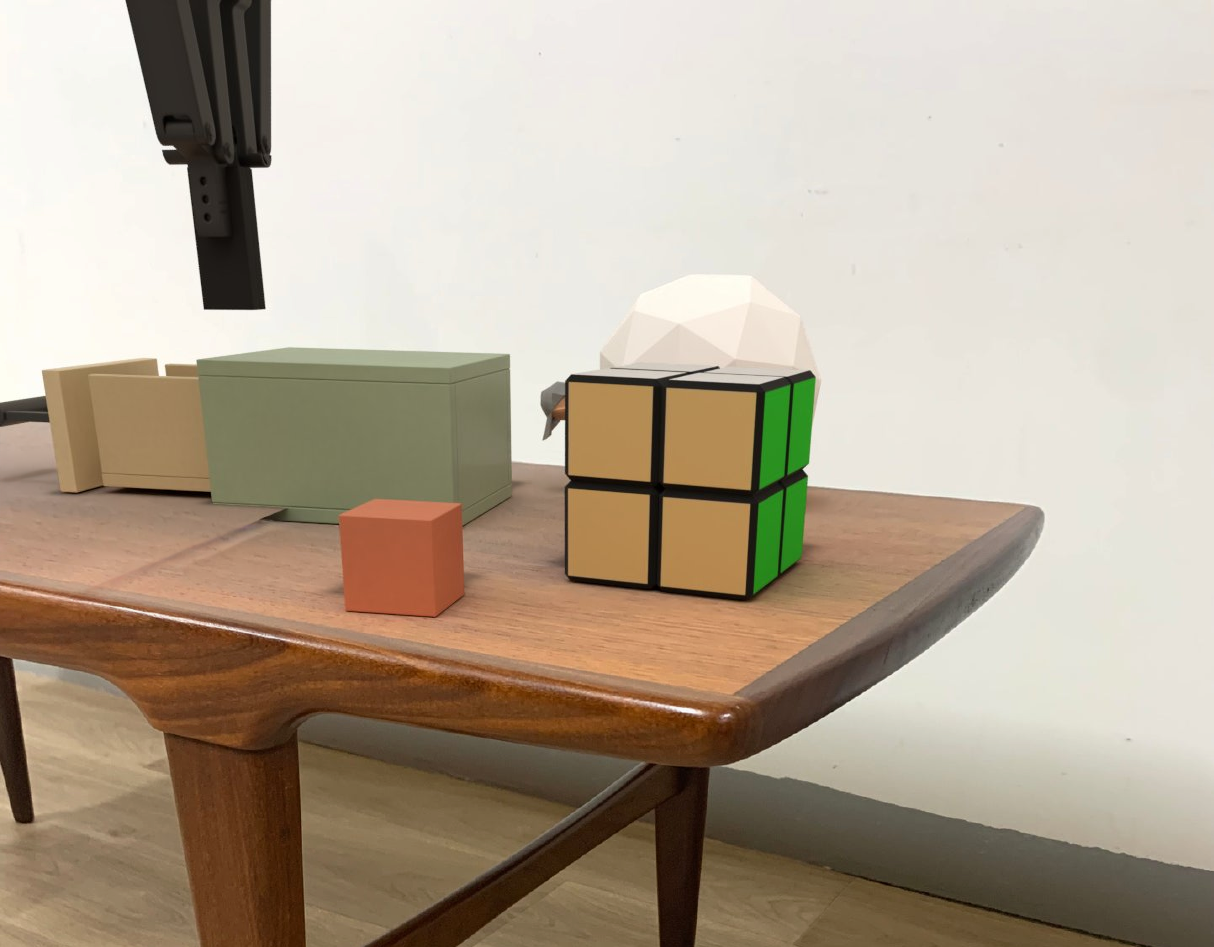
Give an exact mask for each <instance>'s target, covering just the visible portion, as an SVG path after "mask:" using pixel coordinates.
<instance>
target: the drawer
mask: <svg viewBox="0 0 1214 947" xmlns="http://www.w3.org/2000/svg"><path fill="white" fill-rule="evenodd" d="M164 370H165V375H160V372H159V366H158V359H157V358H153V357H137V358H130V359H122V360H114V361H105V362H98V363H97V362H96V363H89V364H80V365H72V366H64V367H55V368H47V369H42V370H41V374H42V375H41V376H42V382H43V389H44V394H45V395H40V396H35V397H28V398H20V399H14V400H7V401H2V402H0V428H2V427H3V428H4V427H9V426H15V425H20V424H25V423H49V426H50V433H51V440H52V444H53V446H52V447H53V452H54V458H55V464H56V468H57V469H56V470H57V471H56V472H57V476H58V477H57V478H58V482H59V483H58V484H59V489H60V490H59V491H60V492H62V493H77V494H78V493H80V492H84V491H88V490H91V489H95V488H98V487H102V486H103V487H110V488H111V487H113V488H130V489H131V488H133V489H147V490H148V489H151V490H166V491H167V490H170V491H171V490H172V491H189V492H208V493H211V487H210V478H209V469H208V460H207V451H206V442H205V433H204V424H203V415H202V406H201V396H200V387H199V378H198V376H199V375H198V371H197V363H196V364H194V363H165V364H164Z"/></svg>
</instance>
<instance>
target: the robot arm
mask: <svg viewBox="0 0 1214 947" xmlns="http://www.w3.org/2000/svg"><path fill="white" fill-rule="evenodd" d="M125 5H126V9H127V14H128V19H129V22H130V26H131V31H132V36H133V40H134V45H135V49H136V53H137V57H138V62H139V65H140V70H141V73H142V74H141V75H142V78H143V83H144V88H145V92H146V97H147V101H148V104H149V105H148V106H149V109H150V114H151V118H152V122H153V126H154V131H155V134H156V138H157V141H158V142H159V144H160V145H161V146H163V147H172V148H174V149H161V152H162V156H163V159H164V161H165V162H166V164H168V165H169V166H174V165H175V166H176V165H177V166H179V165H180V166H182V165H184V166H185V165H187V166H186V170H187V172H186V173H187V178H188V179H187V180H188V188H189V197H190V204H191V212H192V221H193V230H194V238H195V245H196V255H197V265H198V272H199V281H200V282H199V283H200V289H201V300H202V307H203V310H204V311H206V310H208V311H260V310H261V311H262V310H266V308H267V307H266V297H265V289H264V288H265V287H264V279H263V278H264V276H263V268H262V260H261V259H262V258H261V249H260V248H261V247H260V239H259V227H258V218H257V209H256V198H255V187H254V177H253V169H268V168H270V167H271V165H272V159H273V158H272V155H271V153H272V0H125Z"/></svg>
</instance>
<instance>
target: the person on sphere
mask: <svg viewBox="0 0 1214 947" xmlns="http://www.w3.org/2000/svg"><path fill="white" fill-rule="evenodd" d="M642 362H643V363H664V364H685V365H707V366H719V367H720V368H725V367H729V366H733V367H754V368H775V369H796V370H811V372H812V373H813V374H814V375H815V377H816V381H815V394H814V407H813V420H812V425H813V424H814V419H815V413H816V410H817V404H818V399H819V394H820V389H821V384H822V379H821V376H820V373H819V372H820V371H819V369H818V366H817V362H816V361H815V357H814V354H813V351H812V347H811V345H810V342H809V338H808V335H807V332H806V328H805V326H804V323H803V319H802V317H801V316H800V315H799V314H798V313H797V312H796V311H794V309H792V308H791V307H790V306H789V305H787V304H786V303H785V302H783V301H782V300H781V299H780V297H777V296H776V295H775V294H774V293H773V292H771V291H770V290H769V289H768V288H766V287H765V286H764V285H763V284H762V283H761V282H760V281H758V280H757V279H756V278H755V277H754V276H752V275H751V274H750V275H748V274H709V273H707V274H705V273H704V274H701V273H700V274H688V275H685V276H683V277H680V278H678V279H676V280H673V281H671V282H668V283H665V284H663V285H660V286H658V287H656V288H652V289H650V290H648V291H645V292H643V293H640V294H639V295H638V297H637V299H636V300H635V301H634V303H633V304H632V305H631V307H630V308H629V310H628V312H627V313H626V314H625V316H624V317H623V318H622V320H621V321H620V322H619V324H618V326H617V327H616V328H615V330H614V331H613V333H612V334H611V335H610V337H609V339H608V340H607V341H606V343H605V344H604V345H603V347H602V348H601V349H600V351H599V370H600V369H606V368H608V369H610V368H612V367H618V366H624V365H630V364H636V363H642ZM539 402H540V407H541V410H542V412H543V414H544V416H545V417H546V421H545V425H544V426H545V427H544V431H543V436H542V441H545V440H548V438H550V437H551V436H552V435H553V434H552V432H553V430H554V429H555V428H557V426H558V425H559V423H560V422H561V421H565V381H559V380H558V381H556V382H554V383H552V384H551V385H550V386H549V387H547V388H545V389H543V390H542V391H541V392H540V401H539Z"/></svg>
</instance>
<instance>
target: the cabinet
mask: <svg viewBox="0 0 1214 947" xmlns="http://www.w3.org/2000/svg"><path fill="white" fill-rule="evenodd" d="M195 361H196V364H197V371H198V375H199V376H198V378H199V387H200V396H201V406H202V415H203V424H204V433H205V442H206V451H207V460H208V469H209V478H210V487H211V492H210V496H211V502H212V504H213V505H214V504H215V505H231V506H232V505H233V506H250V507H267V508H268V507H269V508H284V509H282V510H279V511H276V512H273V513H271V514H269V515H266V516H264V517H262V518H259V519H258V520H261V521H278V522H279V521H280V522H293V523H294V522H296V523H314V524H329V525H331V524H332V525H339V515H340V514H342V513H345V512H347V511H349V510H351V509H353V508H356V507H358V506H360V505H362V504H365V503H367V502H369V501H371V500H373V499H388V500H407V501H426V502H445V503H461V504H462V527H464V526H465V525H466V524H468V523H470V522H472V521H473V520H474V519H476V518H479V517H480V516H482V515H483V514H485V513H486V512H488V511H489V510H491V509H493V508H494V507H496V506H498V505H499V504H501V503H503V502H505V501H506V500H508V499H509V498H511V497H512V496H513V484H512V483H513V470H512V468H513V466H512V460H513V458H512V403H511V402H512V400H511V399H512V397H511V354H510V353H492V352H490V353H489V352H460V351H459V352H455V351H426V350H425V351H423V350H392V349H390V350H388V349H360V348H357V349H356V348H326V347H325V348H323V347H293V346H291V347H290V346H288V347H281V348H273V349H266V350H258V351H257V350H256V351H251V352H243V353H236V354H228V355H227V354H226V355H220V356H212V357H204V358H197V359H196V360H195Z"/></svg>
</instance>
